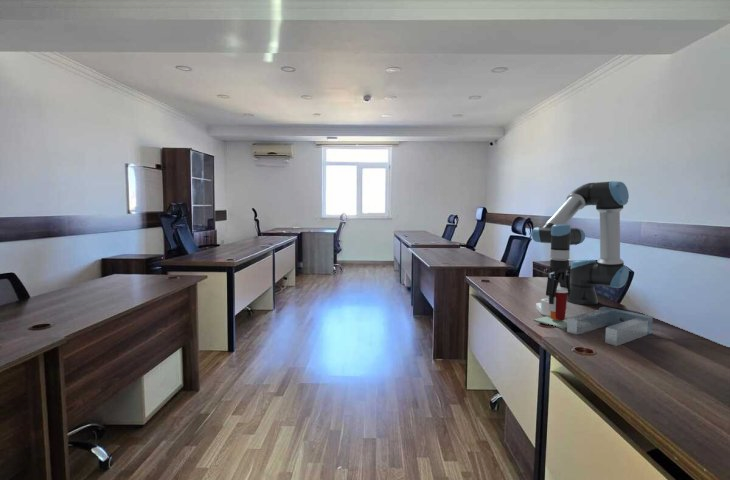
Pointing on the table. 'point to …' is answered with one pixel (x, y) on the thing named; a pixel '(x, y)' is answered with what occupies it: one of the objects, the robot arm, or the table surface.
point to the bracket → (543, 307)
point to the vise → (612, 324)
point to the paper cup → (560, 304)
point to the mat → (552, 322)
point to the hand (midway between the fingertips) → (557, 309)
